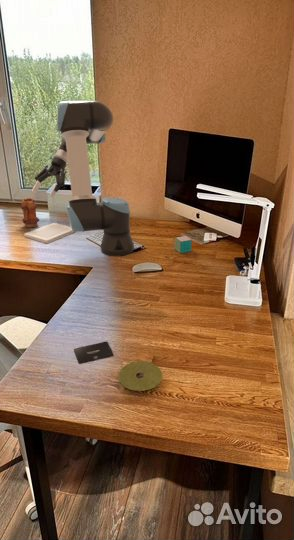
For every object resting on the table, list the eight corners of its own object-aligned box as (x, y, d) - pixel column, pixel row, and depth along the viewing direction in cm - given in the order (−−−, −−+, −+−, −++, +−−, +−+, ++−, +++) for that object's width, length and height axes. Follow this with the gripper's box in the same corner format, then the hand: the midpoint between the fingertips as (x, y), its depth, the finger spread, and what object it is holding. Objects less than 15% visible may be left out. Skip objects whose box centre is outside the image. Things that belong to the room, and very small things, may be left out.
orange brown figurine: (22, 224, 212) (17, 196, 206) (37, 222, 216) (33, 195, 209) (26, 233, 201) (22, 204, 194) (43, 230, 204) (39, 202, 197)
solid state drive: (114, 356, 113) (113, 355, 112) (78, 365, 109) (78, 363, 109) (107, 342, 118) (107, 341, 118) (73, 350, 115) (73, 348, 115)
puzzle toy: (180, 253, 177) (180, 241, 175) (174, 249, 182) (174, 237, 179) (191, 251, 179) (192, 239, 177) (185, 247, 184) (185, 235, 181)
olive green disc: (170, 384, 102) (171, 378, 101) (134, 403, 96) (134, 397, 95) (145, 361, 110) (145, 355, 109) (110, 377, 104) (110, 371, 103)
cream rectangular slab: (76, 231, 203) (76, 228, 202) (47, 243, 188) (46, 240, 187) (54, 225, 211) (54, 222, 210) (24, 236, 196) (24, 233, 196)
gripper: (81, 167, 210) (63, 201, 205) (48, 162, 222) (31, 194, 218) (73, 158, 203) (54, 193, 199) (40, 153, 216) (21, 186, 212)
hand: (42, 194), depth 208 cm, fingers open, 13 cm apart
